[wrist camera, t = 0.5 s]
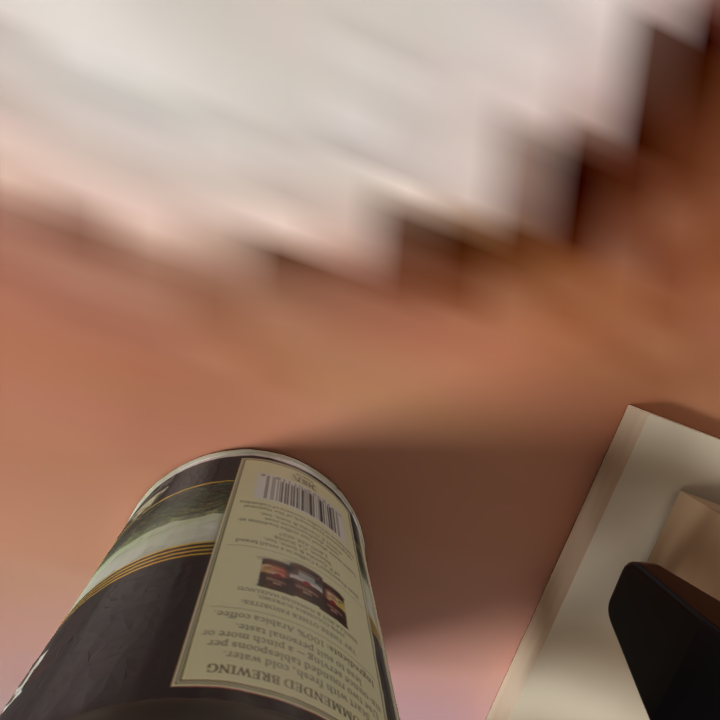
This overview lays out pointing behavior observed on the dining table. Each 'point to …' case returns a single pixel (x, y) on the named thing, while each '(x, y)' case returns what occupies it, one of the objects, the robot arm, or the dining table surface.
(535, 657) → the base
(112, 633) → the coffee can
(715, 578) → the gauge carriage
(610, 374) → the dining table surface
